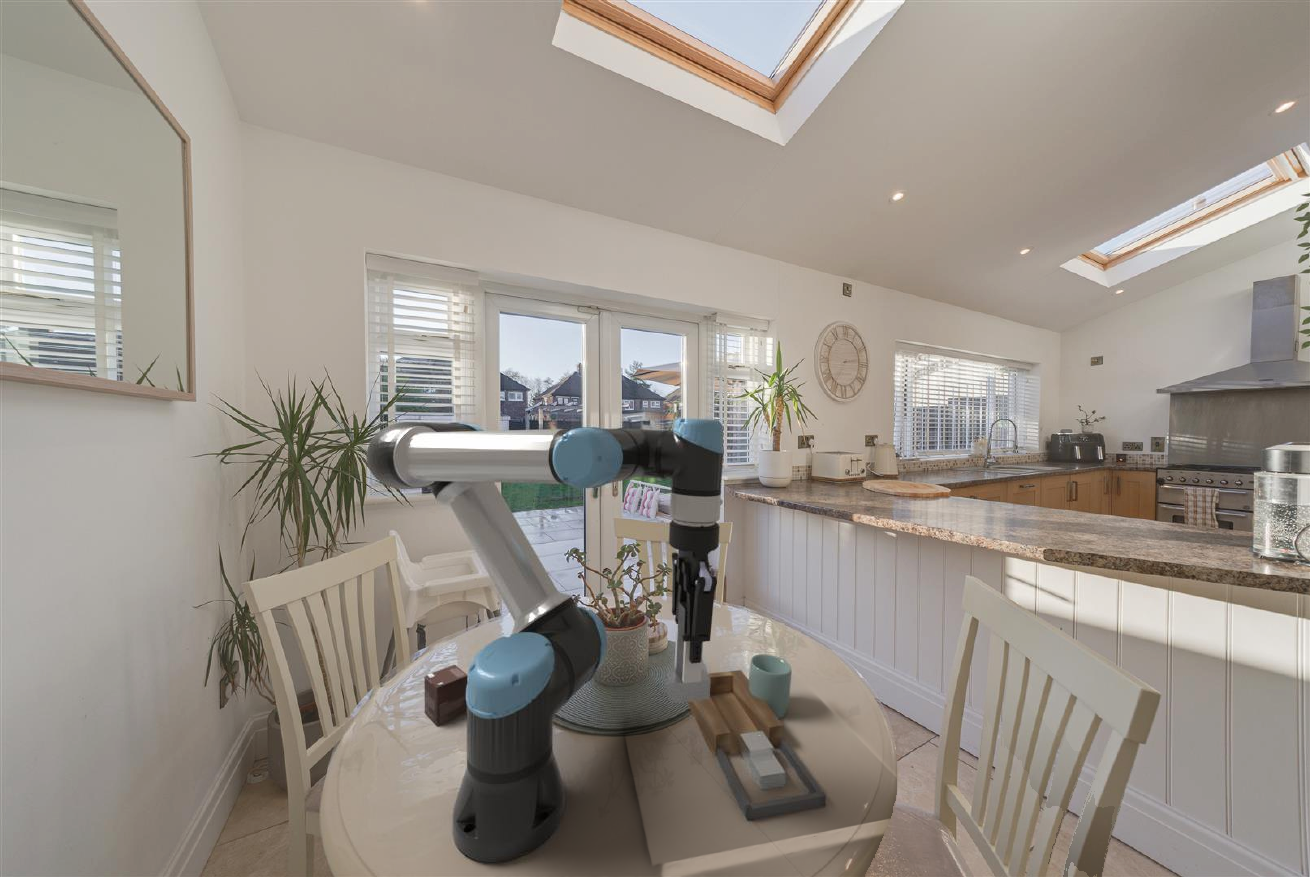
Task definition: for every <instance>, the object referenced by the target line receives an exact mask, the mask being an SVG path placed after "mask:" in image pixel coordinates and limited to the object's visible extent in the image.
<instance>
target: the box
mask: <svg viewBox="0 0 1310 877" xmlns="http://www.w3.org/2000/svg"><path fill="white" fill-rule="evenodd" d="M423 678H424V714H425V715H426V716H427V717H428V718H429V719H430V720H431V721H432V723H434V725H435V726H440V725H442V724H444V723H447V722H449V721H451V720H453V719H455V718H457V717H459V716H461V715H464V714H465V713H466V714H467V702H466V687H467V683H468V673H466V672H464V671H463V670H462V669H461V668H460V667H459V666H457V665H456V664H453V665H450V666H447V667H445V668H442V669H440V670H437V671H433V672H431V673H429V674H426V675H425V676H424V677H423Z"/></svg>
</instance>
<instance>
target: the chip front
mask: <svg viewBox="0 0 1310 877" xmlns="http://www.w3.org/2000/svg"><path fill="white" fill-rule="evenodd" d="M748 770H749V772H750V774H751V775H752V778H753V779H754V781H755V782H756V784H757V787H758V788H759V790H760V791H764V790H767V789H775V788H781V787H785V786H786V771H785V770H784V768H783V767H782V764H780V762H779V761H778V759H777V758H776V756H775V753H773V754H767V755H760V756H754V757H750V765H749V767H748Z"/></svg>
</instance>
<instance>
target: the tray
mask: <svg viewBox="0 0 1310 877" xmlns="http://www.w3.org/2000/svg"><path fill="white" fill-rule="evenodd" d="M779 750H780V751H781V753H782V754H783V756H784V757H785V758H786V760H787V761H788V763H789V764H790V766H791V767H792V768H793V770H794V772H795V773H796V775H797V776H798V777H799V778H800V780H801V782H802V783H803V784H804V786H805V787H806V789H807V790H808V791H809V792H808V793H805V794H800V795H795V796H794V795H793V796H788V797H783V798H782V797H781V798H776V799H771V800H766V801H760V802H755V803H750V801H749V799H748V797H747V795H746V793H745V791H744V789H743V787H742V785H741V783H740V781H739V780H738V778H737V776H736V774H735V771H734V769H733V768H732V766H731V764H730V762H729V760H728V758H727V756H726V755H725V754H724V752H723V750H722V748H719V749H717V756H716V759H717V761H718V763H719V766H720V767H721V770H722V772H723V774H724V776H725V778H726V780H727V782H728V784H729V786H730V788H731V790H732V793H733V795H734V796H735V799H736V801H737V802H738V805H739V807H740V809H741V811H742V813H743V816H744V817H745V820H746V821H747V822H748V821H754V820H755V821H756V820H759V819H765V818H769V817H775V816H776V817H777V816H780V815H787V814H791V813H792V814H793V813H798V812H803V811H809V810H814V809H820V808H824V807H826V806H827V805H826V801H827V798H826V797H827V796H826V794H825V793H824V791H823V790H822V789H821V787H820V785H818V783H817V781H816V780H815V779H814V777H813V776H812V775H811V773H810V772H809V770H808V769H807V768H806V767H805V765H804V764H803V763H802V761H801V760H800V759H799V757H798V756H797V754H796V753H795V752H794V750H793V749H792V747H791V746H790V744H788V741H786V739H785V738H783V739H781V740H780V747H779Z"/></svg>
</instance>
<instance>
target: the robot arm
mask: <svg viewBox="0 0 1310 877" xmlns="http://www.w3.org/2000/svg"><path fill="white" fill-rule="evenodd" d="M724 454H725V449H724V426H723V424H722V423H721V422H720V421H719V420H717V419H707V418H706V419H705V418H683V417H682V418H677V419H676V420H675V421H674V424H673V427H672V430H670V429H669V430H655V429H644V428H643V429H641V428H629V427H616V428H615V427H614V428H612V427H611V428H605V427H604V428H603V427H602V428H600V427H596V426H590V427H589V426H582V427H578V428H569V429H563V428H557V429H556V428H555V429H553V428H549V429H546V428H545V429H517V430H516V429H515V430H513V429H510V430H485V429H483V428H481V427H480V426H478V425H474V424H471V423H469V424H467V423H464V422H459V421H458V422H456V421H454V422H450V423H443V422H422V421H421V422H417V421H403V422H397V423H393V424H390V425H387V426H385V427H384V428H382V429H380V430H379V431H378V432H377V433H376V434H375V435H374V436H373V437H372V438H371V440H370V441H369V443H368V446H367V448H366V455H365V456H366V463H367V467H368V469H369V471H370V473H371V475H372V476H373V477H374V479H376V480H377V481H378V482H380V483H381V484H383V485H385V486H387V487H391V488H394V489H399V490H411V489H412V490H413V489H421V488H422V489H423V488H429V489H430V491H431V492H432V495H433V496H434V497H435V499H436V501H437V503H438V504H441V505H445V506H449V507H450V508H451V509H452V511H453V513H454V515H455V517H456V518H457V521H458V522H459V524H460V526H461V527H462V529H463V531H464V533H465V534H466V536H467V538H468V540H469V542H470V544H471V546H472V548H473V550H474V551H475V553H476V554H477V557H478V558H479V560H480V562H481V564H482V565H483V567H484V568H485V570H486V572H487V574H488V576H489V578H490V579H491V581H492V583H493V585H494V587H495V589H496V591H497V592H498V594H499V596H500V597H501V600H502V601H503V603H504V605H505V607H506V609H507V610H508V612H509V614H510V616H511V618H512V619H513V621H514V626H513V628H512V632H511V634H510V636H501V637H499V638H496V639H495V640H493V641H491V642H489V643H487V644H486V645H485V646H484V647H483V648H481V649H480V650H479V651H478V653H476V655H475V656H474V657H473V659H472V661H471V662H470V665H469V667H468V673H467V675H468V678H467V681H468V683H467V687H466V702H467V712H466V769H465V771H464V775H463V778H462V781H461V784H460V787H459V790H458V792H457V796H456V799H455V802H454V805H453V812H452V838H453V840H454V843H455V845H456V847H457V849H458V850H459V851H460V852H461V853H462V854H464V855H465V856H466V855H467V857H468V858H471V859H472V860H475V861H478V862H484V861H485V862H484V863H499V862H506V861H510V860H513V859H517V858H520V857H523V856H525V855H526V854H528V853H530V852H532V851H534V850H536V848H537V847H539V846H541V845H542V844H543V843H544V842H545V841H546V840H548V838H549V837H550V836H551V835H552V834H553V833H554V831H555V830H556V829H557V827H558V825H559V824H560V822H561V820H562V817H563V814H564V810H565V785H564V784H565V783H564V779H563V777H562V773H561V771H560V768H559V765H558V762H557V759H556V756H555V753H554V751H553V750H554V749H553V746H554V744H553V740H554V738H553V736H554V735H553V734H554V718H555V716H556V714H557V713H558V712H559V711H560V710H561V709H562V708H563V707H564V706H565V705H566V704H567V703H568V702H569V700H570V699H572V698H573V696H574V695H575V694H577V692H578V691H579V690H580V689H581V688H582V687H584V685H585V684H587V683H588V682H590V681H591V680H592V679H593V678H594V677H595V675H596V673H597V672H598V670H599V669H600V668H601V666H602V665H603V663H604V661H605V659H606V656H607V650H608V647H609V646H608V642H609V641H608V634H607V631H606V627H605V624H604V623H603V621H602V620H601V618H600V616H599V615H598V614H597V613H596V612H595V611H594V610H593V609H588V608H586V606H585V607H584V606H578V605H577V603H576V602H575V599H574V598H573V596H572V595H571V594H568V593H563V592H560V591H559V590H558V588H557V587H556V585H555V583H554V582H553V580H552V578H551V576H550V575H549V573H548V572H547V570H546V569H545V566H544V565H543V563H542V561H541V560H540V558H539V556H538V555H537V553H536V551H535V550H534V547H533V546H532V544H531V543H530V541H529V539H528V538H527V535H526V534H525V533H524V531H523V529H522V527H521V526H520V524H519V522H518V521H517V518H516V517H515V516H514V514H513V511H511V508H510V507H509V505H508V504H507V502H506V500H505V499H504V497H503V495H502V493H501V491H500V490H499V488H498V486H497V484H496V483H507V484H508V483H509V484H510V483H513V484H515V483H517V484H518V483H519V484H521V483H522V484H554V485H555V484H560V485H563V484H564V485H568V486H571V487H573V488H576V489H596V488H601V487H603V486H605V485H607V484H612V483H615V482H616V483H617V482H621V481H626V480H630V479H634V478H650V479H661V480H671V488H670V502H669V503H670V504H669V518H671V519H672V520H671V521H670V522H669V531H668V532H669V533H668V534H669V535H668V544H669V546H670V547H671V548H673V549H675V550H678V551H676V552H672V553H671V559H672V561H671V562H672V586H671V587H672V590H671V592H672V593H671V594H672V596H671V599H672V601H671V614H672V616H675V618H674V622H675V624H676V629H675V630H676V631H675V650H674V654H675V655H674V669H675V670H676V663H677V637H678V612H679V602H683V601H687V635H686V636H682V639H683V641H684V653H683V674H682V681H683V683H690V682H699V681H701V673H702V669H703V649H704V647H703V646H704V645H703V644H704V642H710V641H711V638H712V637H711V636H712V635H711V634H712V624H713V622H712V621H713V611H714V601H715V600H714V599H715V591H716V588H717V584H718V579H717V577H716V576H714V575H713V576H712V575H711V576H710V562H709V554H710V553H711V552H714V551H715V550H717V549H718V548H719V546H720V525H719V523H717V522H718V521H719V520H720V515H721V506H722V505H723V503H724V501H723V499H722V495H721V494H722V478H723V477H722V476H723V465H724V464H723V463H724V462H723V461H724Z"/></svg>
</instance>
